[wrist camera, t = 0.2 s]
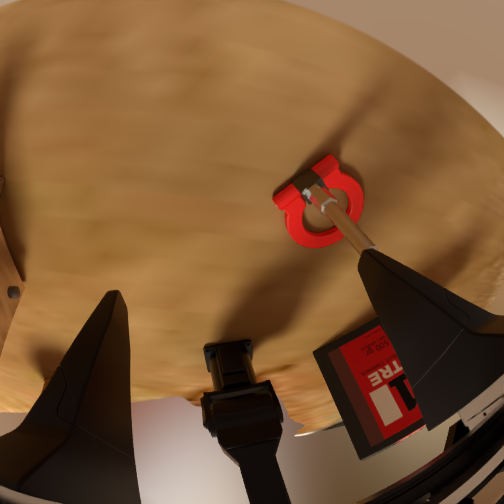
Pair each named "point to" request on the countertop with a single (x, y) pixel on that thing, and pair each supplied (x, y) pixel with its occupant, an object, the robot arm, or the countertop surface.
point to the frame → (1, 183)
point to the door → (8, 289)
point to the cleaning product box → (370, 389)
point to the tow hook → (324, 206)
